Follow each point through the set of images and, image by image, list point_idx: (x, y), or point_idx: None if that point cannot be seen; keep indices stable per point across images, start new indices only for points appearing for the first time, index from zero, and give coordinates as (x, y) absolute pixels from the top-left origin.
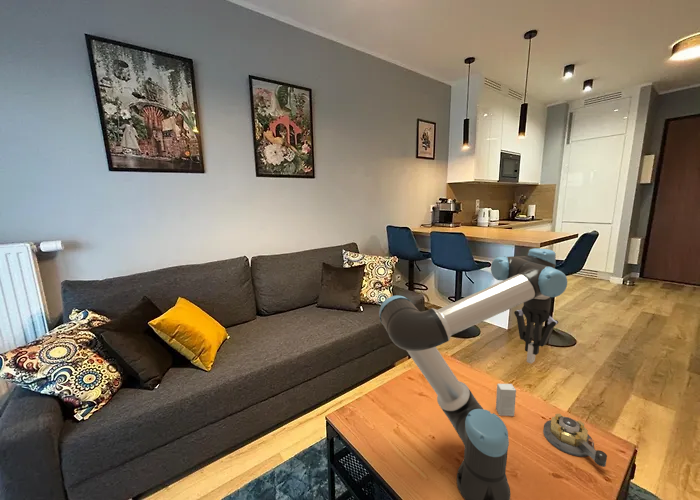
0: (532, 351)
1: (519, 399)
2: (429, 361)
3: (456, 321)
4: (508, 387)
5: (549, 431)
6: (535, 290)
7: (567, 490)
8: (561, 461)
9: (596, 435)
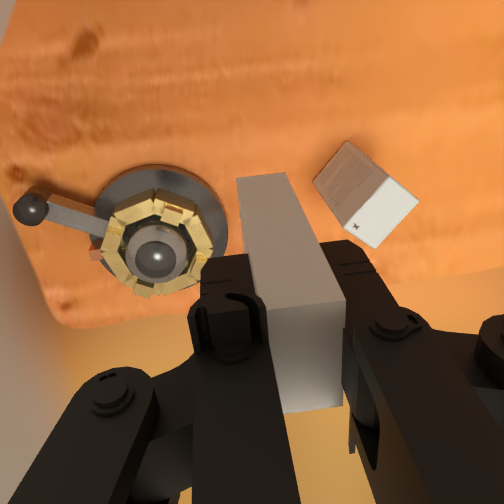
0: (249, 252)
1: None
2: None
3: None
4: (372, 216)
5: (197, 200)
6: None
7: (29, 11)
8: (115, 121)
9: (131, 308)
